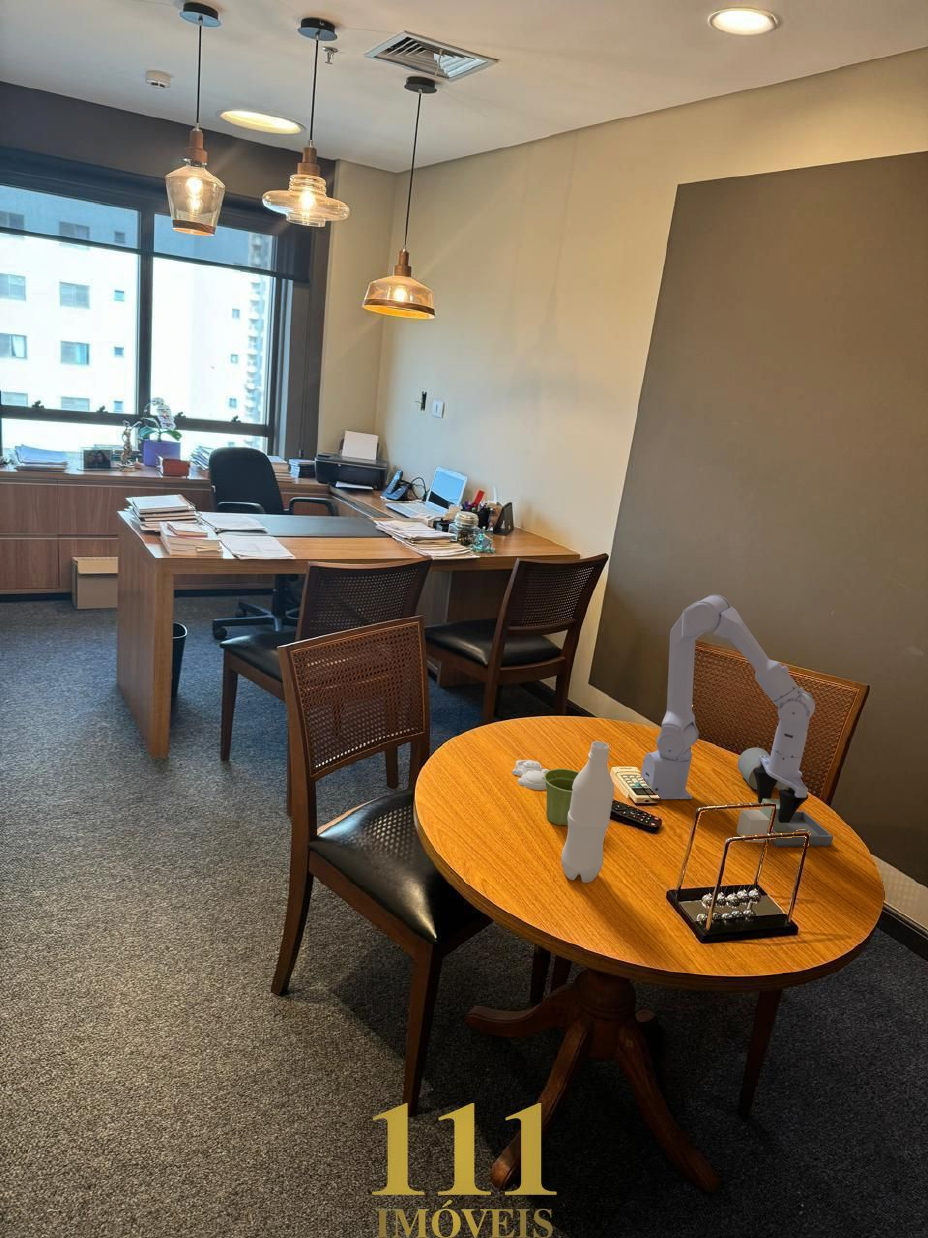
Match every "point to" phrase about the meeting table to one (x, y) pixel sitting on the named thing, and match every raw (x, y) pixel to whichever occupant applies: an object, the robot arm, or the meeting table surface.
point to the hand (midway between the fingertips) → (773, 812)
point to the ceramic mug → (753, 766)
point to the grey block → (752, 823)
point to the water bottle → (589, 816)
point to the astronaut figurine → (530, 774)
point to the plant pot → (559, 794)
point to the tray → (803, 822)
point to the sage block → (768, 813)
